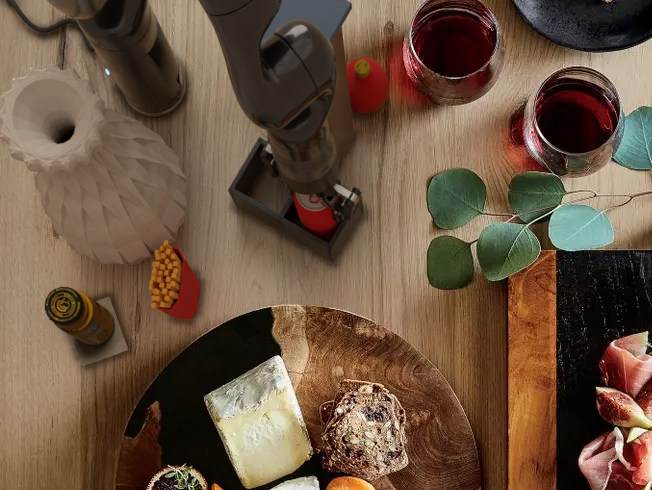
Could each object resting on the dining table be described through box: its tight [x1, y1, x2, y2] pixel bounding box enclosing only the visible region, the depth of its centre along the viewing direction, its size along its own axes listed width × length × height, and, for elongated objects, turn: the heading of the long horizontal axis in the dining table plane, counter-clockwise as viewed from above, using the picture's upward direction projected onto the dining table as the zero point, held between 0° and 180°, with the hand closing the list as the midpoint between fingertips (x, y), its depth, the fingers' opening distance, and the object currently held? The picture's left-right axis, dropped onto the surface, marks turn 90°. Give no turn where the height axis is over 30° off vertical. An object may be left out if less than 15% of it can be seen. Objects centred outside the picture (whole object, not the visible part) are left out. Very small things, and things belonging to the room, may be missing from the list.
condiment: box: [44, 286, 129, 367], centre depth 116 cm, size 7×8×12 cm
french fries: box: [148, 240, 201, 321], centre depth 116 cm, size 9×4×13 cm, turn 173°
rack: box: [227, 136, 365, 264], centre depth 119 cm, size 17×9×6 cm, turn 60°
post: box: [328, 25, 355, 164], centre depth 107 cm, size 9×8×30 cm
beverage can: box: [293, 192, 342, 243], centre depth 116 cm, size 6×6×12 cm
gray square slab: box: [261, 0, 353, 43], centre depth 91 cm, size 11×10×1 cm
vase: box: [0, 63, 188, 266], centre depth 107 cm, size 20×20×30 cm
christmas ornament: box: [346, 57, 389, 114], centre depth 117 cm, size 7×7×10 cm
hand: (318, 202), depth 114 cm, fingers closed on beverage can, 6 cm apart
